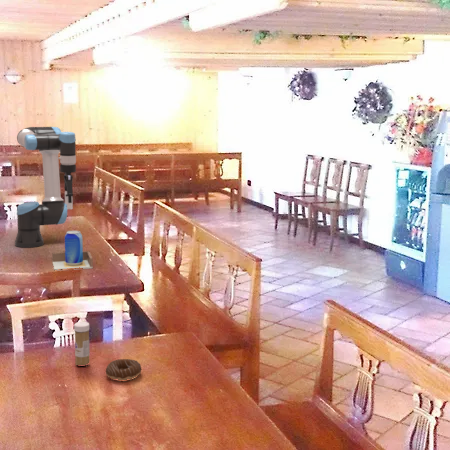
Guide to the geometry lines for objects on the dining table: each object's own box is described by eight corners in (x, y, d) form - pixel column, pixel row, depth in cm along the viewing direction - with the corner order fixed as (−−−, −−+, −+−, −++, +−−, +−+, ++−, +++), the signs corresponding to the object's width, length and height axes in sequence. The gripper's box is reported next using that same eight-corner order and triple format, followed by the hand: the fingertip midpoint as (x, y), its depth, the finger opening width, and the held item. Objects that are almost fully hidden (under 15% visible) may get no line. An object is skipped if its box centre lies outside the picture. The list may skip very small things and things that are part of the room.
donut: (144, 369, 199) (144, 357, 198) (137, 384, 188) (137, 371, 187) (110, 368, 199) (110, 355, 198) (101, 382, 189) (101, 370, 188)
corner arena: (52, 262, 320) (52, 253, 319) (89, 260, 326) (89, 251, 325) (54, 270, 306) (53, 260, 305) (92, 268, 312) (92, 258, 311)
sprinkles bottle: (72, 364, 200) (71, 323, 198) (84, 360, 204) (83, 320, 201) (81, 369, 197) (80, 327, 195) (93, 364, 201) (92, 323, 198)
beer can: (62, 265, 313) (61, 233, 309) (69, 261, 321) (69, 229, 317) (78, 266, 311) (77, 234, 308) (85, 262, 319) (85, 230, 316)
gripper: (58, 160, 326) (59, 201, 331) (61, 167, 303) (62, 211, 308) (73, 160, 329) (74, 201, 334) (78, 167, 306) (78, 211, 310)
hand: (68, 206), depth 321 cm, fingers open, 13 cm apart
